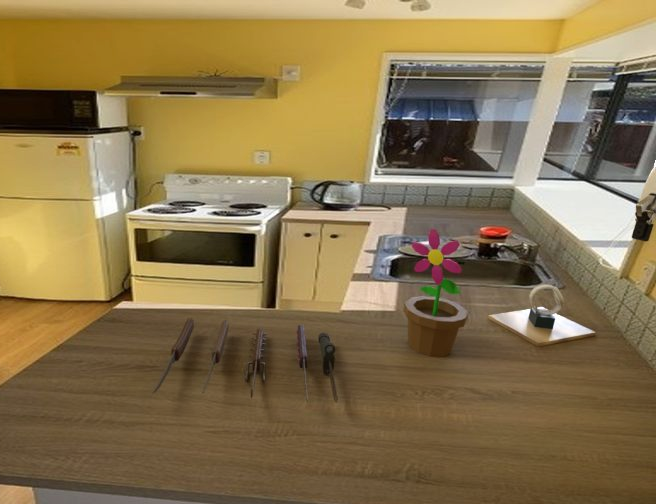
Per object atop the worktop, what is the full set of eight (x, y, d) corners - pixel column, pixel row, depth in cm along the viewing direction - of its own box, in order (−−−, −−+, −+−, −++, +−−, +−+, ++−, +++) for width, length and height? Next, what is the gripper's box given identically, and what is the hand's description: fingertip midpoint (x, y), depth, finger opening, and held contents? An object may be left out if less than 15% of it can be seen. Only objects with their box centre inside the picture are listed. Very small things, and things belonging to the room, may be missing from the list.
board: (541, 310, 126) (541, 306, 125) (595, 335, 111) (596, 332, 111) (487, 318, 120) (488, 315, 119) (537, 346, 105) (538, 343, 105)
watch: (561, 330, 112) (571, 291, 108) (527, 325, 113) (536, 287, 110) (553, 320, 117) (563, 283, 113) (521, 316, 119) (529, 280, 115)
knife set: (148, 417, 76) (146, 379, 73) (188, 334, 107) (188, 306, 105) (344, 429, 75) (348, 391, 73) (326, 342, 107) (329, 314, 105)
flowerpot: (388, 343, 105) (402, 225, 95) (418, 326, 114) (434, 217, 104) (442, 369, 95) (465, 240, 85) (471, 347, 104) (494, 229, 94)
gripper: (683, 160, 98) (660, 231, 103) (632, 160, 92) (610, 236, 98) (725, 163, 91) (698, 240, 96) (672, 164, 86) (646, 245, 91)
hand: (654, 238), depth 97 cm, fingers open, 9 cm apart
